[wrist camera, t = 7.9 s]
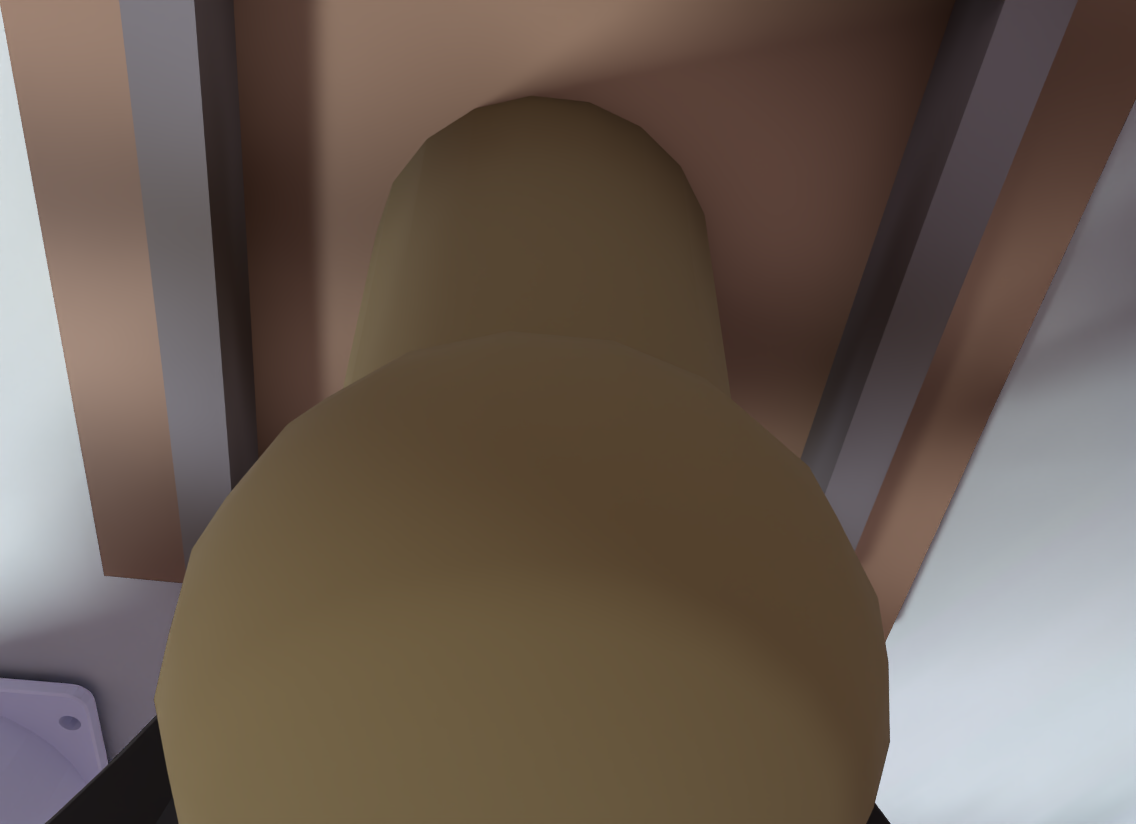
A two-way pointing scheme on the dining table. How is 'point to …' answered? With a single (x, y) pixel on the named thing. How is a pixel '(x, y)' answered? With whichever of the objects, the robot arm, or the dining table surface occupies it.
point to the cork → (528, 535)
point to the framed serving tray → (623, 87)
